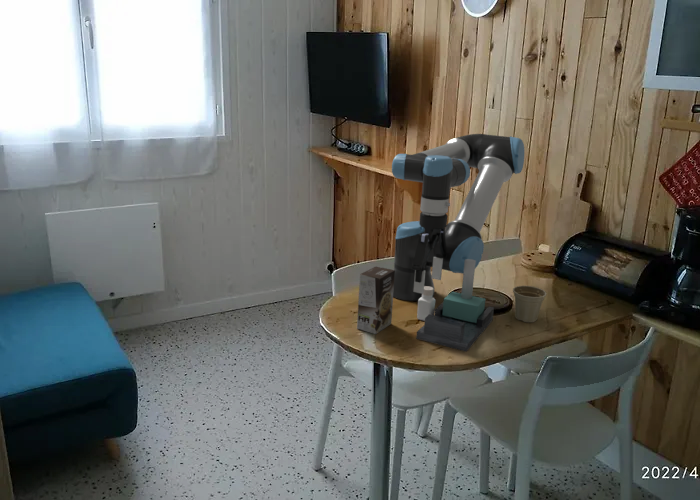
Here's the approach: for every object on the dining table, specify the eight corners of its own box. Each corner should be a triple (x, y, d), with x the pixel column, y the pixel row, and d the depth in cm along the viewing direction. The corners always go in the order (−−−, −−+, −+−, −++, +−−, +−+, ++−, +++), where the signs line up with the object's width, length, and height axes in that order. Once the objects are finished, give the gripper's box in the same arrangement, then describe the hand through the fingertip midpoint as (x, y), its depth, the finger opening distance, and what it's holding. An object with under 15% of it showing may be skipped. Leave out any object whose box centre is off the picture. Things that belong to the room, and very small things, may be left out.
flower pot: (525, 327, 173) (528, 299, 171) (502, 315, 181) (506, 288, 179) (549, 322, 178) (553, 294, 175) (526, 310, 186) (530, 283, 183)
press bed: (416, 338, 163) (417, 316, 161) (447, 309, 184) (448, 289, 182) (466, 351, 157) (468, 328, 155) (492, 320, 177) (495, 299, 175)
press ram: (442, 315, 174) (447, 261, 169) (450, 307, 179) (455, 255, 175) (476, 323, 169) (482, 268, 164) (483, 314, 175) (489, 262, 170)
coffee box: (376, 334, 165) (379, 278, 160) (356, 328, 168) (358, 273, 163) (392, 323, 172) (395, 269, 167) (372, 318, 175) (375, 265, 171)
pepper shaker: (416, 319, 176) (418, 288, 173) (422, 314, 179) (424, 284, 176) (428, 322, 174) (431, 291, 171) (434, 318, 177) (437, 287, 174)
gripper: (430, 223, 155) (423, 301, 161) (461, 206, 176) (454, 276, 182) (403, 219, 158) (397, 295, 164) (437, 203, 179) (431, 271, 185)
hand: (427, 285), depth 173 cm, fingers open, 13 cm apart
